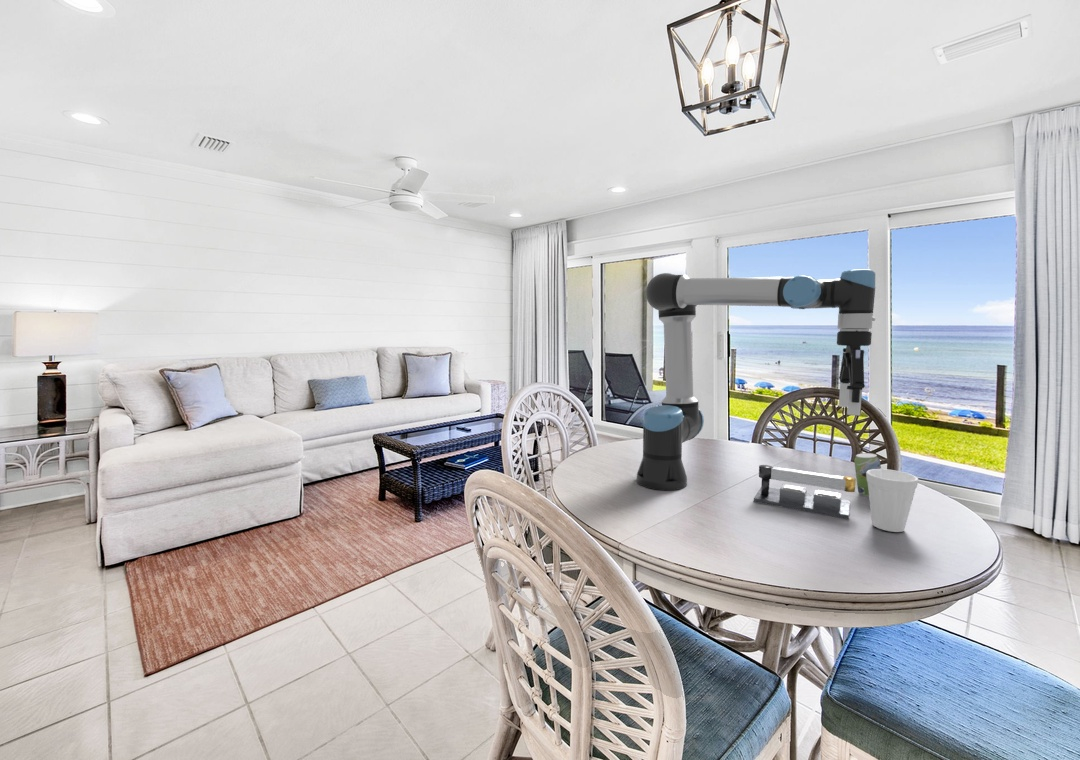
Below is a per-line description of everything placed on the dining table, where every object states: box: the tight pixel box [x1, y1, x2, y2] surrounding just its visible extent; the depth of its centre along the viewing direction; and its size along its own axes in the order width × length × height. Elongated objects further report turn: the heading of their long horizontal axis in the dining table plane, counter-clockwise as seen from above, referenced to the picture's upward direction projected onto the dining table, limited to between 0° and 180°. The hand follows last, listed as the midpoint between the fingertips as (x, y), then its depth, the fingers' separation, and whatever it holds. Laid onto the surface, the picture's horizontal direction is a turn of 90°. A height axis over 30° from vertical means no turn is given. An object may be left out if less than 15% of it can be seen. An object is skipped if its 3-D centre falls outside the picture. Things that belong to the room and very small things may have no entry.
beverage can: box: [853, 452, 882, 498], centre depth 135 cm, size 6×7×12 cm
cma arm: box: [758, 464, 857, 493], centre depth 128 cm, size 23×4×3 cm, turn 56°
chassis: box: [753, 478, 851, 520], centre depth 129 cm, size 22×12×6 cm, turn 56°
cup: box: [866, 468, 920, 533], centre depth 113 cm, size 10×10×13 cm
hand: (848, 410), depth 126 cm, fingers open, 13 cm apart
